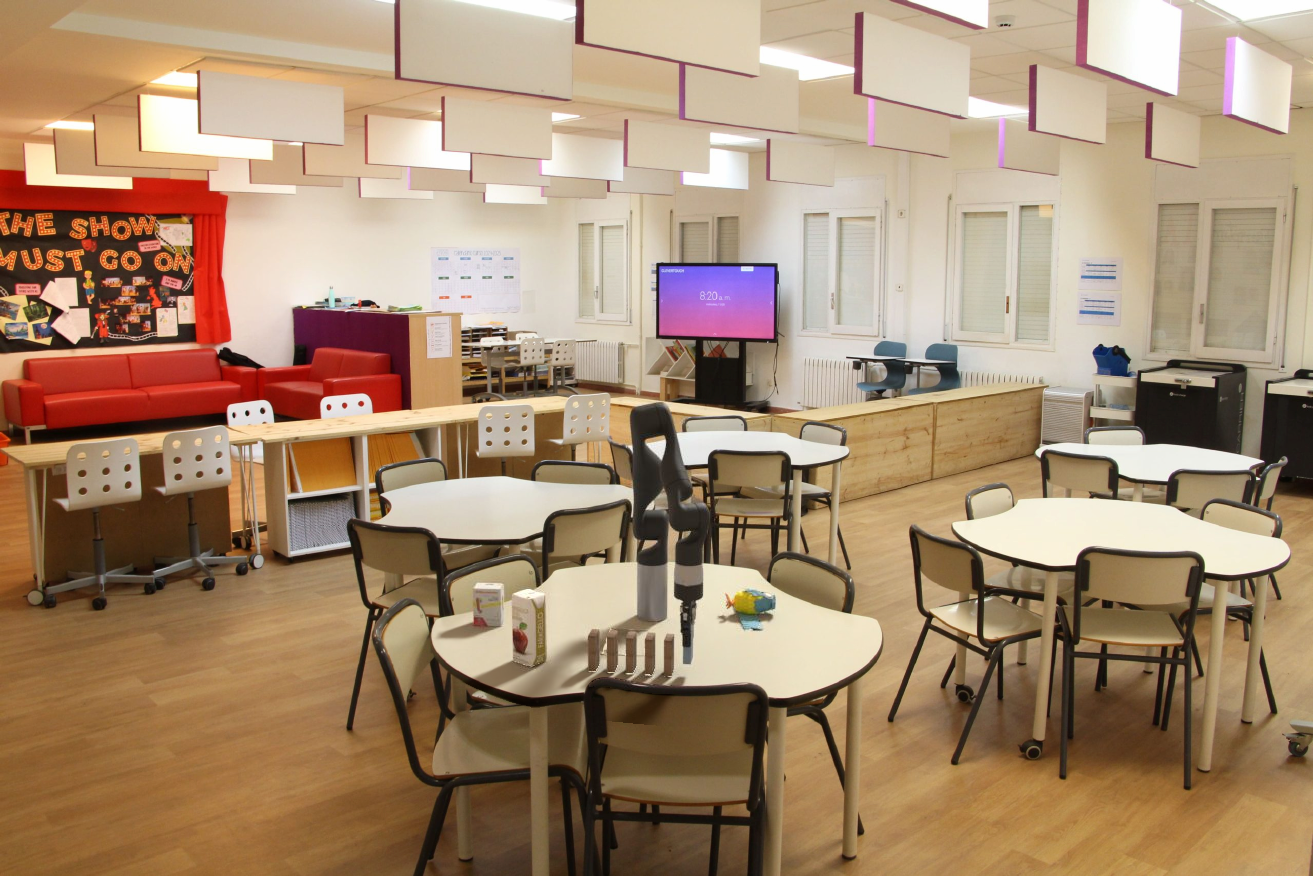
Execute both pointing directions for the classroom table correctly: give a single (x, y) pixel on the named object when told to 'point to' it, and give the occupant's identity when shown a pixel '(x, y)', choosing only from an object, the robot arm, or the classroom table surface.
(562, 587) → the classroom table surface
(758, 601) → the toy airplane
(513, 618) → the juice carton
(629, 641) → the domino
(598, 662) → the domino
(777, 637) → the classroom table surface
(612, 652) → the domino
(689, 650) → the blue domino
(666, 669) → the domino
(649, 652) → the domino
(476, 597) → the ink box
